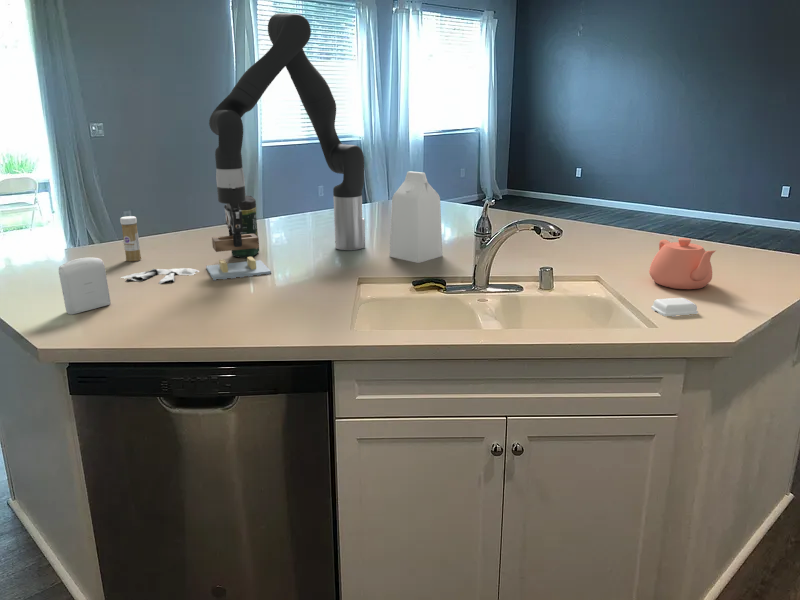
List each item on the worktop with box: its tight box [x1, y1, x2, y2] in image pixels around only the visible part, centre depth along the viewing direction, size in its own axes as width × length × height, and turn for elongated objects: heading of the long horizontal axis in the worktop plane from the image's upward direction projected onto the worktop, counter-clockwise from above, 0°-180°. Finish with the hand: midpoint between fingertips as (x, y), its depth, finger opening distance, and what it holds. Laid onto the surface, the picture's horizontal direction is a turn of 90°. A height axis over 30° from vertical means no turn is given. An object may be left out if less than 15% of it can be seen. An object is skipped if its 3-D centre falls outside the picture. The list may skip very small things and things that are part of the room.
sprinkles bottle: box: [119, 215, 142, 263], centre depth 196 cm, size 5×5×13 cm
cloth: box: [119, 267, 200, 285], centre depth 179 cm, size 20×22×2 cm
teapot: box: [648, 237, 716, 290], centre depth 168 cm, size 22×15×12 cm
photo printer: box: [58, 256, 111, 315], centre depth 152 cm, size 10×4×12 cm, turn 140°
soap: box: [650, 297, 699, 317], centre depth 149 cm, size 9×7×3 cm
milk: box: [389, 171, 443, 264], centre depth 197 cm, size 12×12×26 cm
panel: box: [206, 256, 272, 281], centre depth 185 cm, size 16×14×3 cm
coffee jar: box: [231, 195, 260, 259], centre depth 201 cm, size 10×8×19 cm
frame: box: [211, 234, 260, 253], centre depth 183 cm, size 12×6×3 cm, turn 114°
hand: (235, 243), depth 183 cm, fingers closed on frame, 6 cm apart
